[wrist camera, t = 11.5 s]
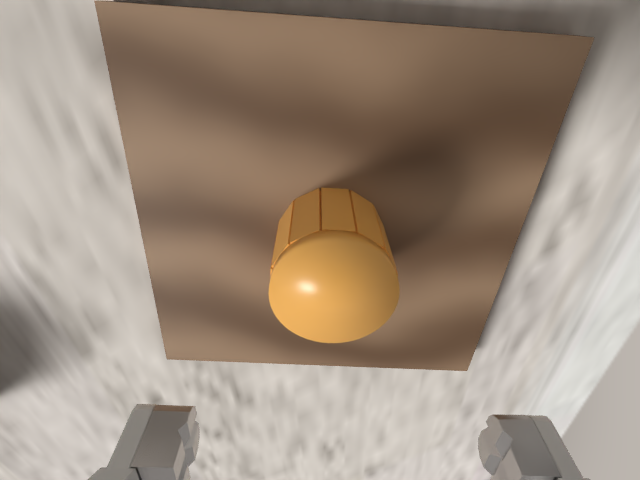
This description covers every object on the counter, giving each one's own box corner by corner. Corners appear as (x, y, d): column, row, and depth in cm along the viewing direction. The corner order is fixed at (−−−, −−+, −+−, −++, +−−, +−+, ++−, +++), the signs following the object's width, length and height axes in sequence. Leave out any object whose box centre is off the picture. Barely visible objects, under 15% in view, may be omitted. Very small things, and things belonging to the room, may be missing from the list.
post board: (111, 1, 16) (38, -2, 12) (573, 35, 17) (659, 44, 13) (174, 342, 27) (146, 406, 22) (460, 353, 27) (486, 418, 23)
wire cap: (279, 184, 19) (268, 236, 15) (389, 191, 19) (410, 244, 15) (278, 275, 22) (268, 340, 18) (374, 279, 22) (388, 345, 18)
